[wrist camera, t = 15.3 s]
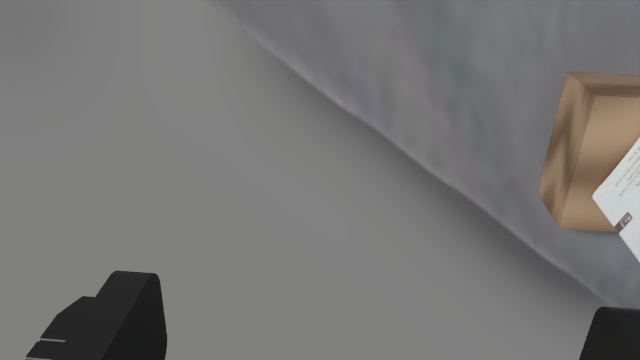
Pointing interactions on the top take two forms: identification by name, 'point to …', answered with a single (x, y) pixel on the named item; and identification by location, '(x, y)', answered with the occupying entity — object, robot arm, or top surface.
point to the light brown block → (588, 145)
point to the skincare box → (623, 199)
